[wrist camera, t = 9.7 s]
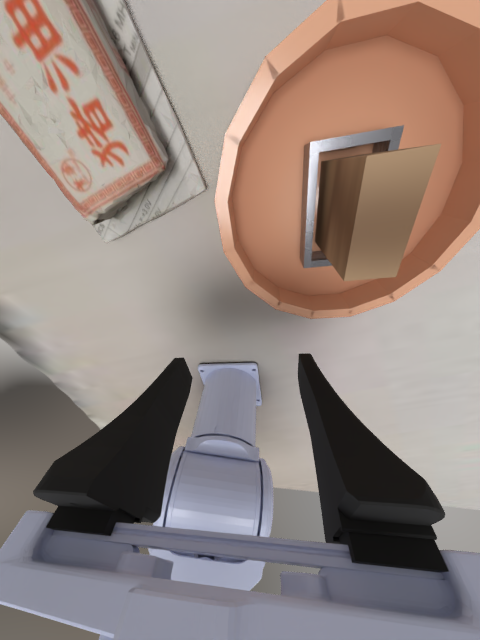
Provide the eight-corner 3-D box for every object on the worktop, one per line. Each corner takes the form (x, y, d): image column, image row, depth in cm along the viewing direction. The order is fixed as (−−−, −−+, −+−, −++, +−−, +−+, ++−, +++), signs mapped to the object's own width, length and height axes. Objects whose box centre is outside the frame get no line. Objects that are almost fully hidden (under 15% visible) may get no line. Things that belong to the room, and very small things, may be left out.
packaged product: (-478, -364, 5) (-609, -1475, 2) (-167, -140, 9) (-68, -452, 6) (79, 258, 15) (194, 195, 12) (117, 240, 19) (211, 189, 16)
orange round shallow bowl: (411, 290, 19) (438, 311, 16) (239, 302, 21) (236, 323, 18) (538, -21, 9) (658, -102, 6) (202, 65, 12) (183, 32, 9)
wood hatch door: (347, 237, 15) (396, 277, 10) (314, 241, 16) (343, 281, 10) (361, 154, 13) (441, 143, 7) (321, 161, 13) (366, 155, 7)
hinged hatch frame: (359, 252, 16) (370, 262, 14) (299, 258, 17) (303, 268, 15) (385, 130, 12) (404, 125, 10) (303, 145, 13) (310, 141, 11)
